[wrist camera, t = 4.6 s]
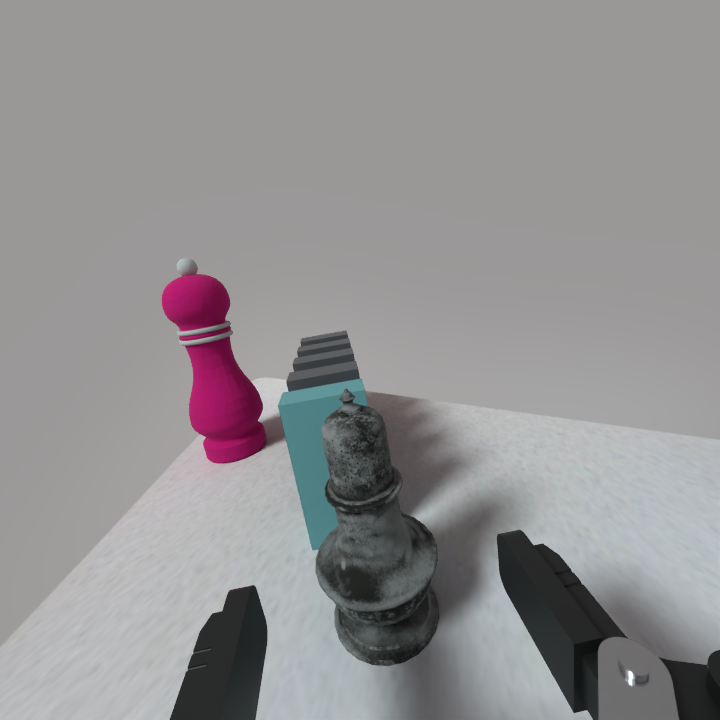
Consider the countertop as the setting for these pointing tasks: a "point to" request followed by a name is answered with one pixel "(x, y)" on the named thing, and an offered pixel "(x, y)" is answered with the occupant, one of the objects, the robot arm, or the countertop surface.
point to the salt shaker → (373, 545)
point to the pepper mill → (214, 367)
